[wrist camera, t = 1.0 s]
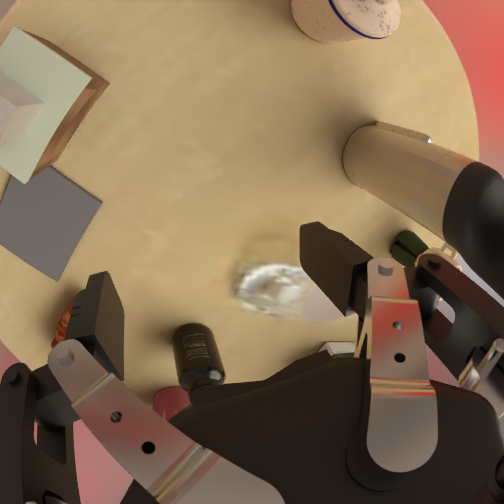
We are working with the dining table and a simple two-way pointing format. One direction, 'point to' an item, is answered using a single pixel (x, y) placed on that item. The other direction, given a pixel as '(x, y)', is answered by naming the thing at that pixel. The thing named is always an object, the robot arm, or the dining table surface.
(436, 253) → the character mug
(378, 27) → the teacup with lid
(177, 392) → the plant pot
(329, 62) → the dining table surface
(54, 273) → the rubber pad
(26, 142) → the lid
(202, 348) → the supplement bottle
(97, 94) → the walnut box
